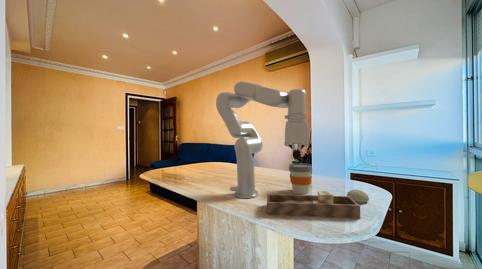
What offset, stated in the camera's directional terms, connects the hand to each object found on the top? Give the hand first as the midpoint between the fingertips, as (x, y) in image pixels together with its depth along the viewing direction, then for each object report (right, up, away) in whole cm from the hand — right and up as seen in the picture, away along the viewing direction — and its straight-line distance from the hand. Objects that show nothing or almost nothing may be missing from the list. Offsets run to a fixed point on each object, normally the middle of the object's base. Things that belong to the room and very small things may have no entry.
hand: (296, 159), depth 88 cm
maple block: (+11, -19, -4) cm, 22 cm away
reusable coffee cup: (+9, -21, +23) cm, 33 cm away
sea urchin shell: (+32, -21, +8) cm, 39 cm away
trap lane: (+5, -22, -3) cm, 23 cm away
